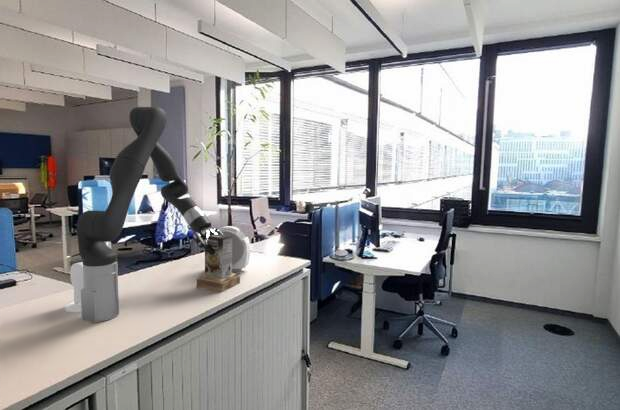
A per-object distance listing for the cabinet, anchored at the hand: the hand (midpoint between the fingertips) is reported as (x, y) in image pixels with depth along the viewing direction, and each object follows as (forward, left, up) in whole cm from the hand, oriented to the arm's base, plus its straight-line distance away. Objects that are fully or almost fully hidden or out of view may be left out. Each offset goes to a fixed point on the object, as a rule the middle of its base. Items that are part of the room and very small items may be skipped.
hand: (220, 251), depth 141 cm
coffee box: (0, +1, -10) cm, 10 cm away
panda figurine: (-37, +27, -14) cm, 48 cm away
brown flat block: (0, +1, -14) cm, 14 cm away
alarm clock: (+18, +9, -14) cm, 24 cm away
